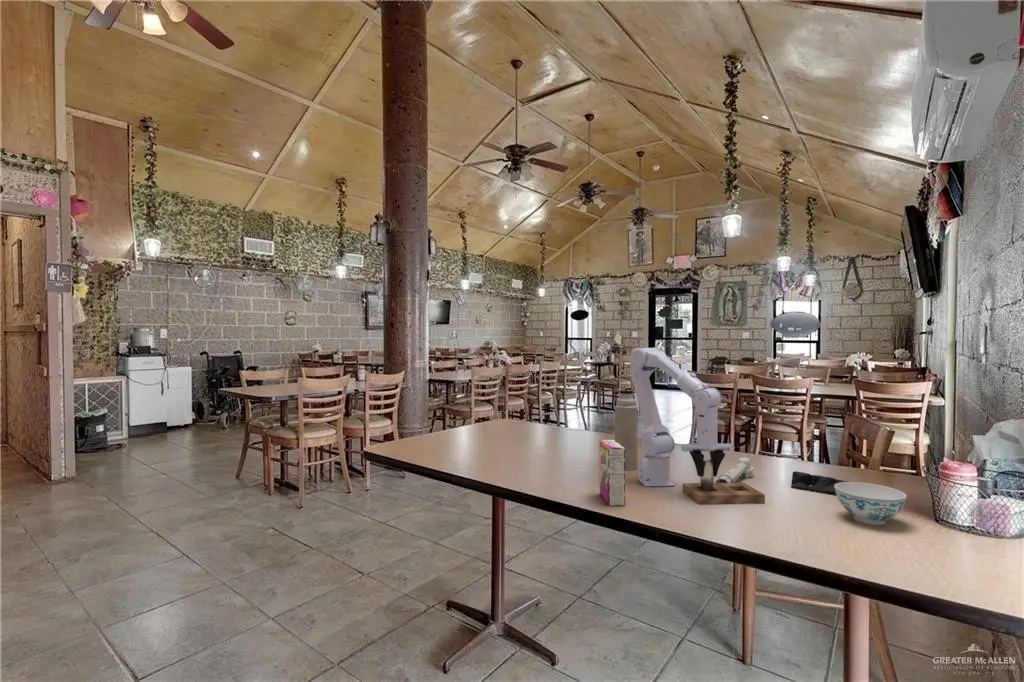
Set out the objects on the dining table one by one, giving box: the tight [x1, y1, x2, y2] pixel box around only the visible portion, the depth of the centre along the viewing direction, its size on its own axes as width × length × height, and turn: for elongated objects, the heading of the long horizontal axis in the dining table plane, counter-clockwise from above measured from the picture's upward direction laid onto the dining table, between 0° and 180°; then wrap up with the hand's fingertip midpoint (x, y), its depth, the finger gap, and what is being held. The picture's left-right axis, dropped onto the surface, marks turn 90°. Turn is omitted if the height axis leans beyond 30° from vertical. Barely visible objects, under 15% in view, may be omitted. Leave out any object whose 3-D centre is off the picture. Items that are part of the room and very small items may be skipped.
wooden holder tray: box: [681, 481, 766, 505], centre depth 146 cm, size 19×12×2 cm, turn 92°
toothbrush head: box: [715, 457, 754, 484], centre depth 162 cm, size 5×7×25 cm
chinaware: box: [834, 481, 907, 526], centre depth 128 cm, size 15×15×8 cm
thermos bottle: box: [614, 389, 638, 471], centre depth 181 cm, size 8×8×28 cm
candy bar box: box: [598, 439, 626, 507], centre depth 144 cm, size 11×5×16 cm, turn 4°
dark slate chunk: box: [790, 470, 850, 495], centre depth 154 cm, size 15×22×5 cm
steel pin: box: [699, 458, 715, 489], centre depth 146 cm, size 4×4×8 cm
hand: (706, 475), depth 146 cm, fingers closed on steel pin, 4 cm apart
